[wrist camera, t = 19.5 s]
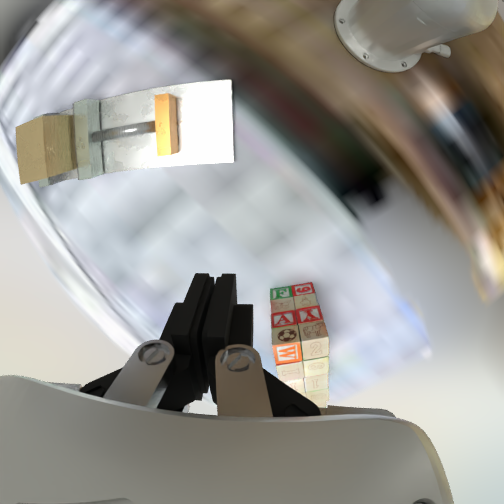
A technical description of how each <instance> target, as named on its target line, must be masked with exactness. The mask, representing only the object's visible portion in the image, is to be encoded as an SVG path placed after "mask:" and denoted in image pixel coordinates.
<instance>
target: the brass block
mask: <svg viewBox="0 0 504 504" xmlns="http://www.w3.org/2000/svg"><path fill="white" fill-rule="evenodd" d="M16 144H17V157H18V167H19V175H20V182H21V184H25V183H29V182H33V181H37V180H41V179H45V178H49V177H52V176H55V175H58V174H61V173H64V172H67V171H71V170H74V169H77V164H76V154H75V142H74V124H73V115H52V116H41V117H39V118H36V119H34V120H31V121H29V122H27V123H24V124H22V125H20V126H17V127H16Z"/></svg>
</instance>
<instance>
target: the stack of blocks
mask: <svg viewBox="0 0 504 504" xmlns="http://www.w3.org/2000/svg"><path fill="white" fill-rule="evenodd" d="M270 303H271V313H272V314H271V328H272V349H273V353H274V358H275V363H276V369H277V373H278V377H279V380H281V381H282V382H284V383H285V384H286V385H288V386H289V387H291V388H292V389H294V390H295V391H297V392H298V393H300V394H301V395H303V396H305V397H306V398H308V399H309V400H311V401H312V402H313V403H315V404H316V405H317V406H318V407H321V408H326V401H329V386H328V373H329V356H328V355H329V337H328V333H327V330H326V326H325V323H324V320H323V316H322V312H321V309H320V306H319V304H318V301H317V298H316V293H315V290H314V287H313V284H312V282H311V283H305V284H299V285H293V286H288V287H282V288H275V289H270Z"/></svg>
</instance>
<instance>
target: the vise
mask: <svg viewBox="0 0 504 504" xmlns="http://www.w3.org/2000/svg"><path fill="white" fill-rule="evenodd" d="M166 93H170V94H172V95H174V96H176V109H177V135H178V153H177V154H174V155H168V156H159V157H157V145H156V132H154V133H147V134H140V135H134V136H128V137H122V138H116V139H111V140H106V141H101V152H102V163H103V173H104V174H106V173H113V172H120V171H128V170H136V169H145V168H154V167H165V166H176V165H189V164H205V163H225V162H234V132H233V94H232V80H218V81H206V82H196V83H187V84H179V85H172V86H165V87H159V88H153V89H148V90H143V91H137V92H133V93H128V94H123V95H119V96H115V97H111V98H107V99H103V100H99V120H100V130H105V129H110V128H115V127H120V126H125V125H130V124H136V123H142V122H148V121H155V95H159V94H166ZM52 115H73V108H72V109H69V110H66V111H63V112H60V113H47V114H43V115H40V116H38V117H35V118H34V119H36V118H39V117H41V116H52ZM75 178H78V173H77V169H74V170H71V171H67V172H64V173H61V174H58V175H55V176H52V177H49V178H45V179H41V180H39V187H44V186H49V185H53V184H55V183H58V182H61V181H64V180H69V179H75Z"/></svg>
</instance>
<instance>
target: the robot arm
mask: <svg viewBox="0 0 504 504" xmlns="http://www.w3.org/2000/svg"><path fill="white" fill-rule="evenodd" d="M502 1H503V2H504V0H502ZM497 8H498V0H342V1H341V2H340V3H339V5H338V7H337V8H336V10H335V15H334V25H335V28H336V32H337V34H338V36H339V39H340V40H341V42H342V43H343V45H344V46H345V48H346V49H347V50H348V51H349V52H350V53H351V54H352V55H353V56H354V57H355V58H356V59H358V60H359V61H360V62H362V63H364V64H365V65H367V66H369V67H371V68H373V69H375V70H379V71H382V72H389V73H396V72H402V71H405V70H407V69H410V68H412V67H413V66H414V65H415V64H416V63H417V62H418V61H419V59H420V57H421V54H422V53H423V52H426V53H431V52H433V53H435V54H437V55H440V56H443V57H445V58H448V57H449V56H450V54H451V50H450V47H448V46H447V45H444V44H442V43H445V42H448V41H451V40H454V39H457V38H460V37H464V36H467V35H471V34H474V33H477V32H480V31H483V30H485V29H486V28H487V27H489V26H490V24H491V23H492V22H493V20H494V18H495V16H496V13H497ZM340 22H341V23H340ZM363 56H364V57H365V59H364V58H363ZM209 386H210V391H211V394H212V399H213V402H214V403H215V404H216V405H217V412H218V416H216V415H205V414H194V413H188V412H189V407H190V406H189V403H191V402H193V401H194V400H200V401H202V396H203V393H208V389H209ZM0 504H454V502H453V498H452V494H451V490H450V486H449V483H448V480H447V477H446V475H445V471H444V468H443V466H442V463H441V461H440V458H439V456H438V454H437V451H436V449H435V447H434V445H433V444H432V442H431V440H430V438H429V437H428V436H427V434H426V433H425V432H424V431H423V430H422V429H421V428H420V427H419V426H417V425H416V424H414V423H412V422H409V421H406V420H403V419H399V418H396V417H395V416H394V415H393V413H391V412H389V411H387V410H383V409H371V408H354V407H341V406H340V407H339V406H330V405H328V407H327V408H321V407H318V406H317V405H316V404H315V403H313V402H312V401H311V400H309V399H308V398H306V397H305V396H303V395H301V394H300V393H298V392H297V391H295V390H294V389H292V388H291V387H289V386H288V385H286V384H285V383H284V382H282V381H281V380H279V379H278V378H276V377H275V376H273V375H272V374H270V373H269V372H268V371H266V370H265V369H263V368H262V363H261V358H260V355H259V353H258V352H257V351H256V350H255V349H254V348H253V304H237V290H236V274H222V276H221V277H217V279H216V283H215V282H214V277H210V276H209V273H196V274H195V276H194V278H193V280H192V283H191V285H190V287H189V290H188V292H187V295H186V297H185V300H184V302H183V303H175V305H174V307H173V309H172V312H171V314H170V316H169V318H168V321H167V323H166V325H165V328H164V330H163V332H162V335H161V337H160V339H159V340H150V341H147V342H144V343H143V344H141V345H140V346H139V347H138V348H137V349H136V350H135V351H134V353H133V354H132V356H131V357H130V358H129V360H128V361H127V363H126V364H125V366H124V367H123V368H121V369H119V370H116V371H114V372H112V373H110V374H107V375H105V376H103V377H101V378H99V379H96V380H94V381H92V382H89V383H88V384H86V385H85V386H84V387H82V386H81V384H65V383H50V382H44V381H41V380H37V379H34V378H29V377H24V376H16V375H6V376H0Z"/></svg>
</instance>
